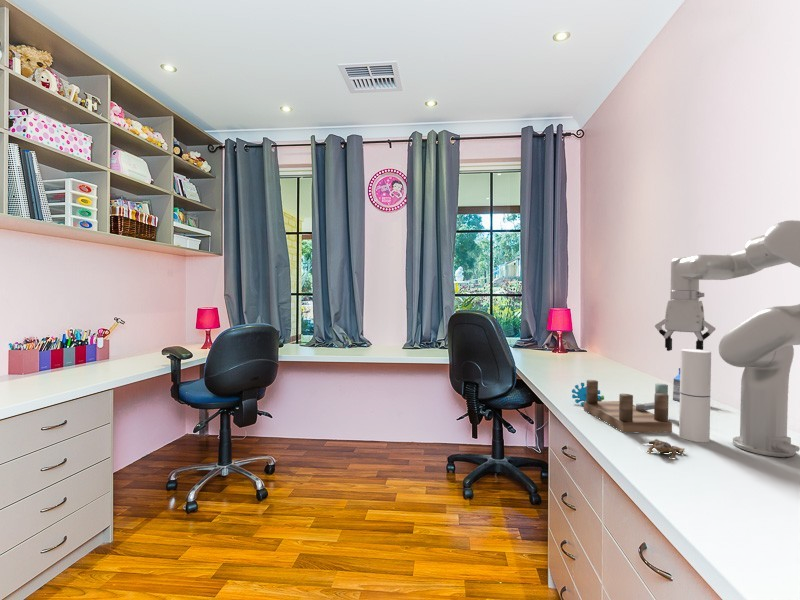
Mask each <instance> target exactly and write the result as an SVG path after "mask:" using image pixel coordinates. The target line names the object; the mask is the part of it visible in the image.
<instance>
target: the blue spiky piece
mask: <svg viewBox="0 0 800 600" xmlns="http://www.w3.org/2000/svg"><path fill="white" fill-rule="evenodd" d="M579 387H580V388H579ZM576 390H577V391H576ZM586 392H587V385H586V386H585V382H580V386H579V384H576V385H574V388H573V389H572V390H571V393H573V394H572V395H571V398H572V399H575V400H574V402H575V403H576V404H579V403H580V405H581V406H582V407H584V402H586ZM598 401H605V396H604V395H601V390H600V389H598Z"/></svg>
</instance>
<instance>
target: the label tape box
mask: <svg viewBox="0 0 800 600" xmlns="http://www.w3.org/2000/svg"><path fill="white" fill-rule="evenodd" d="M672 385H673V387H672V401H676V402H680V367H679V368H678V374H677V375H676V376H675V377H673V384H672Z"/></svg>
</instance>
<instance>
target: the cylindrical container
mask: <svg viewBox="0 0 800 600" xmlns="http://www.w3.org/2000/svg"><path fill="white" fill-rule="evenodd" d="M679 363H680V366H679V368H680V401H679V420H678V421H679V424H678V425H679V426H678V427H679V432H678V433H679V434H678V435H679V437H680V438H682V439H684V440H686V441H691V442H695V443H696V442H697V443H707V442H710V439H711V438H710V436H711V435H710V434H711V431H710V430H711V427H710V426H711V391H712V390H711V387H712V386H711V383H712V382H711V381H712V379H711V378H712V351H711V350H707V349H706V350H705V349H703V350H698V349H696V348H681V349H680V362H679Z"/></svg>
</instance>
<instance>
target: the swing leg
mask: <svg viewBox="0 0 800 600" xmlns="http://www.w3.org/2000/svg"><path fill="white" fill-rule="evenodd" d="M655 393H662V394H667V395H669V384H665V383H655V387H654V394H655ZM635 406H636V410H638V411H645V410H646V411H650V410H654V402H648V403H635Z"/></svg>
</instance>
